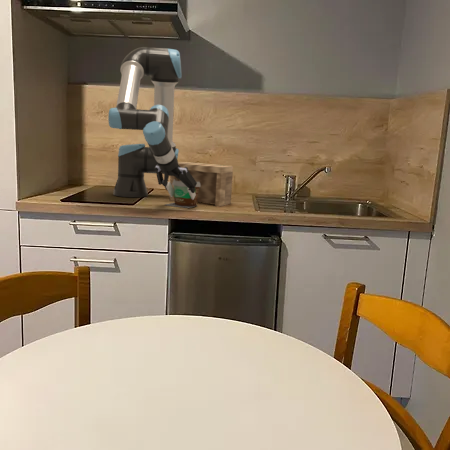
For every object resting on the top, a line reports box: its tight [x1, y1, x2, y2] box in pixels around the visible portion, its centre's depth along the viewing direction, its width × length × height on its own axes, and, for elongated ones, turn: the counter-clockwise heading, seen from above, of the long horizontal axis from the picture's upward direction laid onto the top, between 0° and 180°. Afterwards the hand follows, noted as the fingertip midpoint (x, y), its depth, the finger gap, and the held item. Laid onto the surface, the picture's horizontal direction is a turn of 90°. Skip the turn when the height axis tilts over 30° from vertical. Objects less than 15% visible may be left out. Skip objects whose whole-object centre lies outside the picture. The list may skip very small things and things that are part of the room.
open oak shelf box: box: [169, 161, 234, 208], centre depth 231 cm, size 24×12×16 cm, turn 67°
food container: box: [172, 179, 201, 207], centre depth 216 cm, size 12×6×10 cm, turn 68°
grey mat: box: [164, 202, 198, 209], centre depth 218 cm, size 11×8×1 cm
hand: (183, 195), depth 217 cm, fingers closed on food container, 9 cm apart
